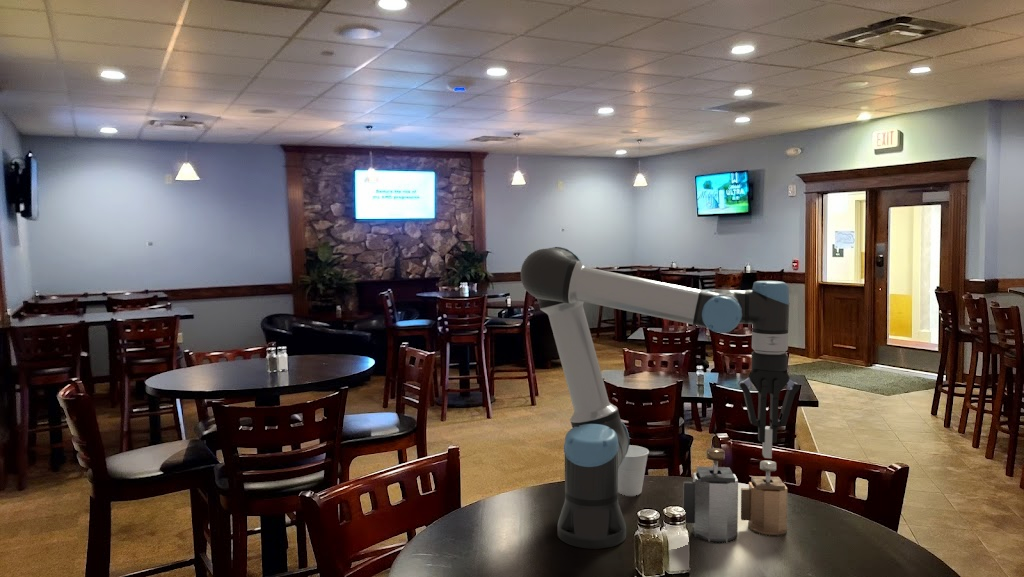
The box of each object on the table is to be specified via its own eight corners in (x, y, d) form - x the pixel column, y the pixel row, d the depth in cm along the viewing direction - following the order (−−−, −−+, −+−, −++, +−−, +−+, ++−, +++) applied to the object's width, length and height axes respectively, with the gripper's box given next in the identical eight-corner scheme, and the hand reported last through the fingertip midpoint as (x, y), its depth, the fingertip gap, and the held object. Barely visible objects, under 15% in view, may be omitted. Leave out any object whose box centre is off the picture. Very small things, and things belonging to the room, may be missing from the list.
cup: (609, 498, 183) (609, 455, 182) (610, 484, 192) (610, 444, 191) (649, 500, 181) (649, 457, 180) (648, 486, 191) (648, 445, 190)
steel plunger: (700, 513, 157) (701, 455, 156) (696, 501, 164) (697, 445, 163) (734, 514, 156) (734, 456, 155) (728, 502, 163) (729, 446, 162)
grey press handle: (756, 515, 160) (757, 466, 159) (751, 505, 166) (752, 458, 165) (784, 516, 159) (784, 467, 158) (778, 506, 165) (778, 459, 164)
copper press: (781, 522, 166) (782, 475, 165) (790, 537, 158) (791, 488, 157) (737, 520, 167) (738, 474, 167) (744, 535, 159) (745, 486, 159)
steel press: (733, 526, 164) (734, 465, 163) (741, 544, 155) (741, 480, 154) (681, 524, 166) (681, 464, 165) (685, 542, 156) (686, 478, 155)
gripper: (742, 353, 157) (739, 460, 159) (805, 354, 155) (801, 462, 157) (736, 348, 164) (733, 450, 166) (796, 349, 162) (793, 452, 164)
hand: (766, 456), depth 161 cm, fingers closed
